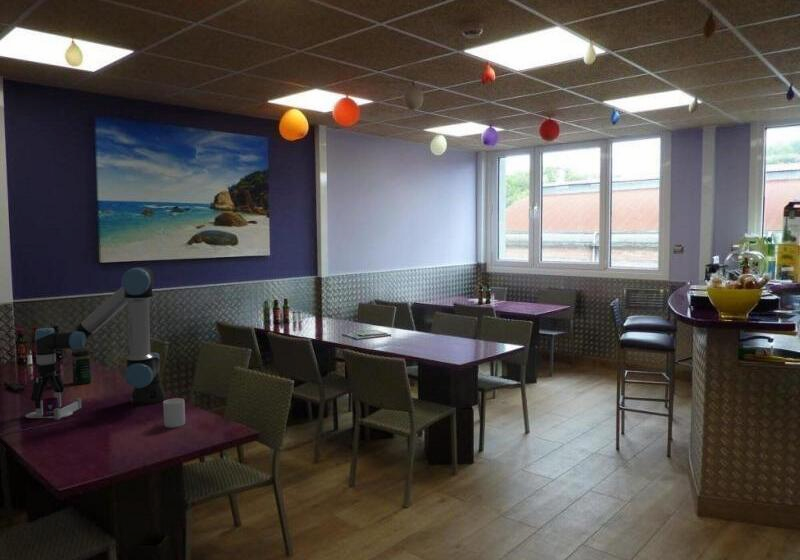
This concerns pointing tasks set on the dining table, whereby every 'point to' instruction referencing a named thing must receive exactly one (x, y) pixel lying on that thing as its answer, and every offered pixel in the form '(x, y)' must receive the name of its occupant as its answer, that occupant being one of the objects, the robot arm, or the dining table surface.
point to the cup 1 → (49, 406)
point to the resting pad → (33, 415)
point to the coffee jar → (81, 366)
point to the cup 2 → (174, 412)
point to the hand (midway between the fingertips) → (49, 410)
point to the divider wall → (67, 409)
